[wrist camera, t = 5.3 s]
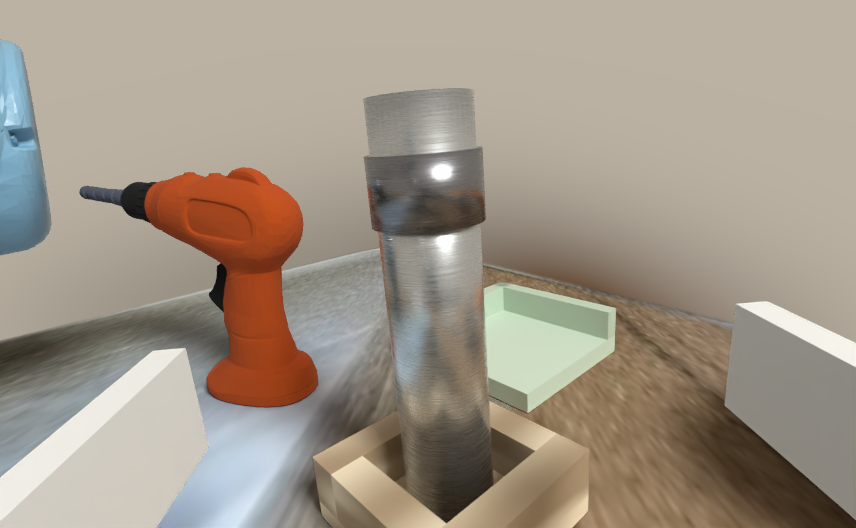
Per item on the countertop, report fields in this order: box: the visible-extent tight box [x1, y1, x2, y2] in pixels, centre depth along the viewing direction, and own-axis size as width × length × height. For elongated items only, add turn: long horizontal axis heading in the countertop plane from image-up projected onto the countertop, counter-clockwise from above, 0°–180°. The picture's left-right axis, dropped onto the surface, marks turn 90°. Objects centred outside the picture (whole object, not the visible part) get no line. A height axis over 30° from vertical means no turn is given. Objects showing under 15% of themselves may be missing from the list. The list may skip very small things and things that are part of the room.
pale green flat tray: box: [484, 282, 616, 413], centre depth 33 cm, size 10×10×3 cm
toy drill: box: [80, 168, 318, 407], centre depth 31 cm, size 5×19×15 cm, turn 68°
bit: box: [364, 88, 494, 524], centre depth 17 cm, size 4×4×16 cm
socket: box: [312, 401, 589, 528], centre depth 19 cm, size 8×8×3 cm
